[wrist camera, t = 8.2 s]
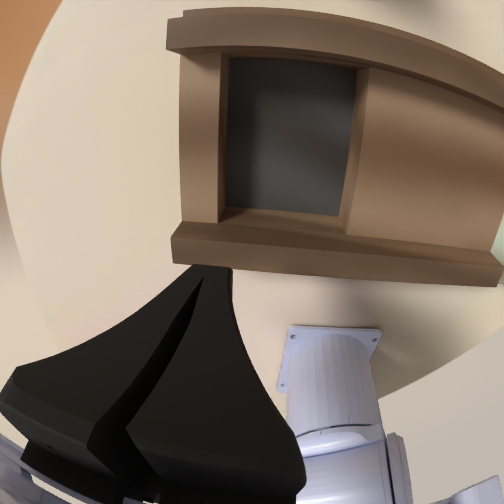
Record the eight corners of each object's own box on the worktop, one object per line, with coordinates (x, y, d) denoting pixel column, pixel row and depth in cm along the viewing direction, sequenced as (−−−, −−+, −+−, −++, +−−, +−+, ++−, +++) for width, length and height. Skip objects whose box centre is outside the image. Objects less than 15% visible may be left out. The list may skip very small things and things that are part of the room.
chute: (517, 266, 18) (545, 299, 14) (197, 236, 20) (174, 279, 16) (555, 120, 11) (595, 135, 7) (198, 22, 13) (169, 0, 9)
